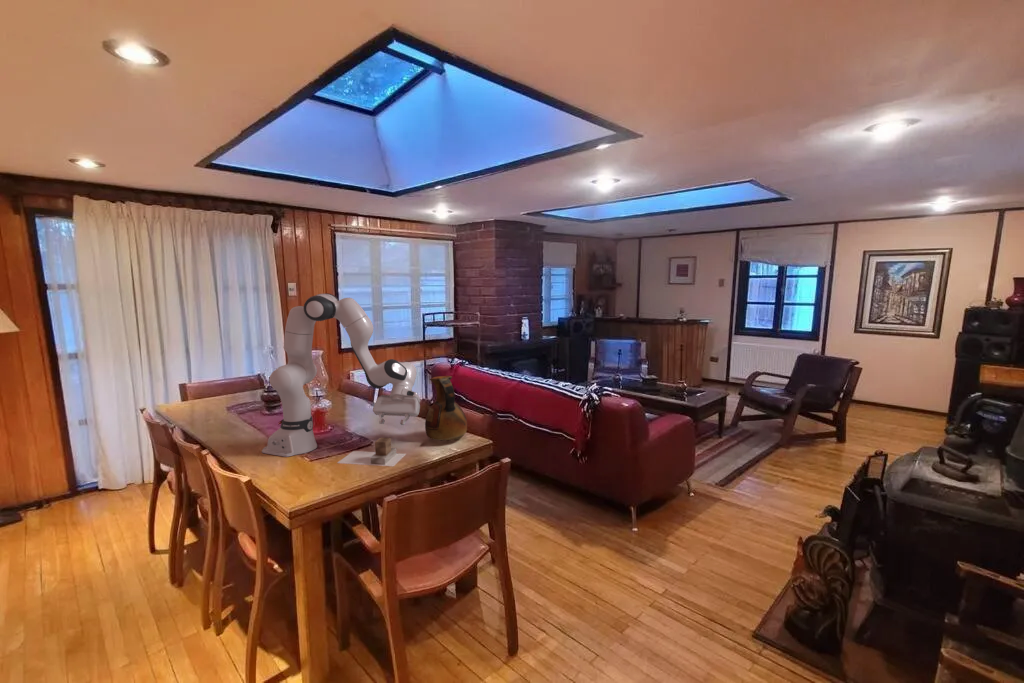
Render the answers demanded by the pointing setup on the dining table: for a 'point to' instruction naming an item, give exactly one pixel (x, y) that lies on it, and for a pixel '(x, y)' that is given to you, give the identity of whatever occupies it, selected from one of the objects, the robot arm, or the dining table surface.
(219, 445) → the dining table surface
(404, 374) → the robot arm
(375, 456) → the sanding block
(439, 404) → the ceramic pitcher
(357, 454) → the board
